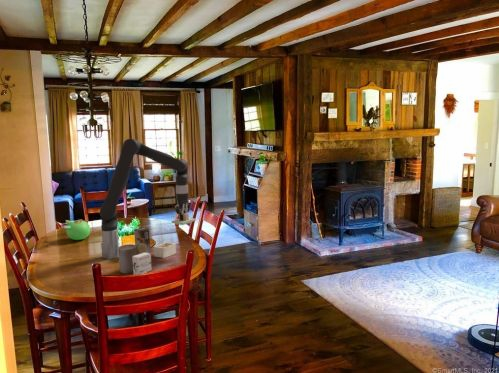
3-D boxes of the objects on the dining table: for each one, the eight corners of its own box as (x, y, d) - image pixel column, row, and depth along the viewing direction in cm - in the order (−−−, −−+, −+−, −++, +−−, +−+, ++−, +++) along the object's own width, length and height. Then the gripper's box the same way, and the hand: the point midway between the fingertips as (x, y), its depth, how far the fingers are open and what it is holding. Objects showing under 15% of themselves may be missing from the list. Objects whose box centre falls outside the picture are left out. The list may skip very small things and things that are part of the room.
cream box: (163, 258, 240) (163, 248, 239) (154, 256, 244) (153, 246, 243) (176, 253, 249) (175, 243, 249) (166, 251, 254) (166, 242, 253)
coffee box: (150, 251, 253) (149, 227, 251) (150, 254, 247) (149, 229, 244) (135, 253, 250) (134, 228, 248) (135, 256, 244) (134, 231, 242)
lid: (182, 225, 237) (182, 216, 236) (171, 224, 242) (171, 214, 241) (195, 221, 247) (195, 212, 246) (184, 220, 252) (184, 211, 251)
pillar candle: (139, 267, 225) (138, 241, 223) (135, 273, 215) (133, 246, 213) (122, 268, 224) (120, 242, 222) (117, 274, 215) (115, 247, 213)
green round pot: (90, 241, 280) (89, 221, 278) (64, 244, 274) (62, 223, 272) (90, 235, 297) (89, 216, 295) (66, 237, 291) (64, 218, 289)
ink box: (146, 272, 216) (145, 251, 214) (152, 274, 213) (151, 253, 211) (133, 277, 210) (131, 255, 208) (138, 279, 206) (137, 257, 205)
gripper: (179, 194, 234) (180, 222, 237) (194, 191, 246) (195, 218, 248) (169, 193, 238) (171, 221, 241) (185, 190, 250) (186, 217, 252)
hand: (183, 219), depth 244 cm, fingers closed on lid, 2 cm apart
